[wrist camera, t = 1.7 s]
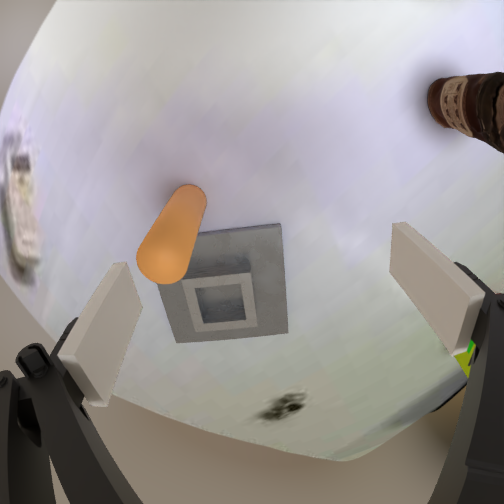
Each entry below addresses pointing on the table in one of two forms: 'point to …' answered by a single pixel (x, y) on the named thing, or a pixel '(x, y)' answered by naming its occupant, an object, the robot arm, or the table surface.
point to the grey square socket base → (230, 287)
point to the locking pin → (172, 236)
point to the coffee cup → (471, 106)
